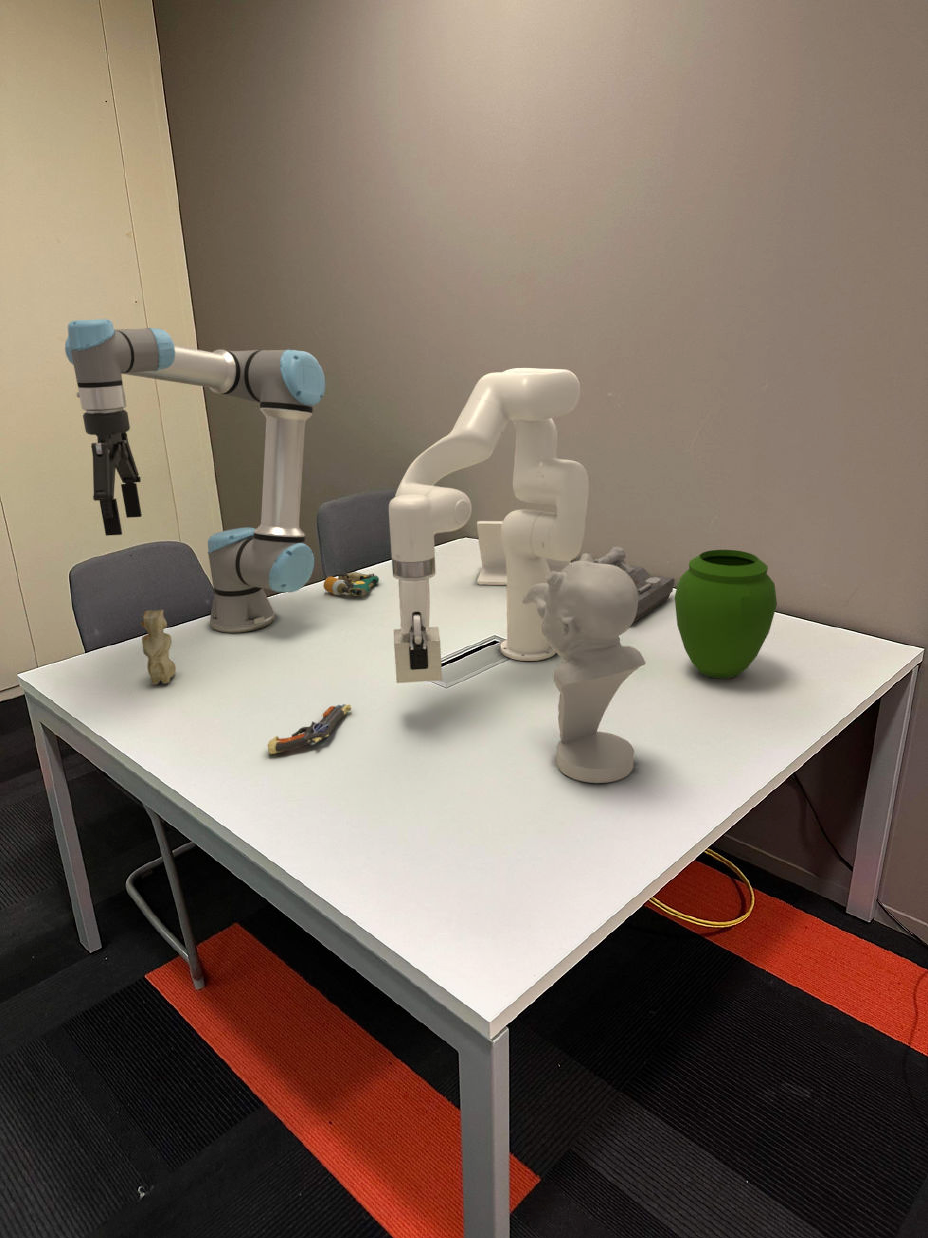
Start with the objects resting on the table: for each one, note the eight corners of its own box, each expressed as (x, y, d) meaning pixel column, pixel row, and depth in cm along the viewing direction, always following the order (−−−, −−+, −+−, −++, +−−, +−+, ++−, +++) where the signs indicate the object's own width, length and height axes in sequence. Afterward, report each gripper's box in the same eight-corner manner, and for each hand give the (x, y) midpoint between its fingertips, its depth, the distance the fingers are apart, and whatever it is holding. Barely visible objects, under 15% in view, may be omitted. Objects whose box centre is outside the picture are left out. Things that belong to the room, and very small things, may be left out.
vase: (779, 663, 178) (792, 551, 169) (754, 700, 162) (766, 578, 154) (688, 646, 188) (695, 539, 179) (656, 679, 172) (662, 563, 164)
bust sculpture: (574, 712, 160) (578, 530, 147) (660, 769, 140) (672, 565, 127) (501, 733, 153) (498, 544, 140) (579, 797, 133) (584, 583, 120)
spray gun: (347, 579, 242) (393, 587, 236) (313, 594, 227) (362, 602, 221) (347, 565, 240) (393, 572, 235) (313, 578, 226) (361, 587, 220)
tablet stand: (569, 585, 229) (570, 524, 223) (476, 584, 232) (475, 523, 226) (570, 566, 246) (571, 508, 240) (484, 564, 249) (483, 507, 243)
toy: (603, 584, 229) (605, 530, 224) (673, 597, 218) (677, 540, 213) (555, 612, 210) (556, 553, 205) (630, 627, 199) (633, 566, 194)
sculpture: (181, 672, 182) (171, 606, 177) (172, 686, 176) (161, 618, 170) (154, 673, 182) (142, 607, 177) (144, 687, 175) (131, 619, 170)
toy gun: (262, 744, 147) (317, 741, 144) (302, 702, 164) (351, 699, 162) (265, 758, 147) (319, 756, 145) (305, 715, 165) (354, 712, 163)
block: (396, 667, 159) (393, 629, 156) (439, 665, 160) (438, 626, 157) (396, 683, 153) (394, 643, 150) (442, 680, 153) (440, 640, 150)
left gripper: (104, 403, 165) (122, 511, 172) (58, 420, 141) (82, 544, 149) (143, 401, 165) (160, 509, 173) (105, 418, 142) (126, 541, 149)
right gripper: (392, 553, 157) (397, 643, 163) (392, 583, 140) (398, 681, 147) (432, 551, 157) (436, 641, 163) (437, 580, 141) (442, 678, 147)
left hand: (124, 525), depth 161 cm, fingers open, 13 cm apart
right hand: (418, 659), depth 155 cm, fingers closed on block, 6 cm apart
